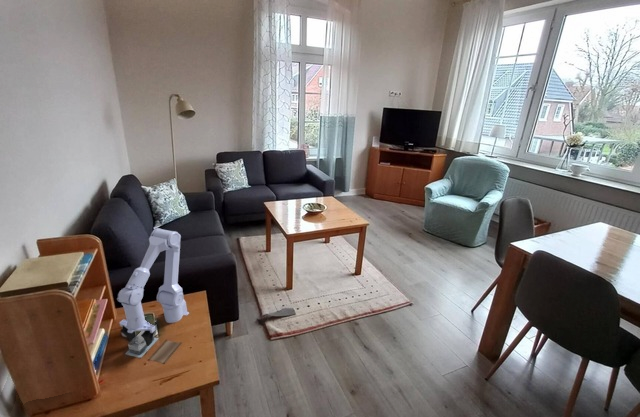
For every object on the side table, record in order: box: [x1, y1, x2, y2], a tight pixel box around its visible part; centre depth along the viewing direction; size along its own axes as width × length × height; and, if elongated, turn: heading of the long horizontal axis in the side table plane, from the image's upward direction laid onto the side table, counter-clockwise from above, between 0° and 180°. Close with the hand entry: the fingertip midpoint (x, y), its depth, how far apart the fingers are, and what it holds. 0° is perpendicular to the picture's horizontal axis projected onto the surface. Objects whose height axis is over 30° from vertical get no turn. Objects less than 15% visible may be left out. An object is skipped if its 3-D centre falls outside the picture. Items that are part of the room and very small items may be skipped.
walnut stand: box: [148, 339, 182, 364], centre depth 121 cm, size 7×10×2 cm
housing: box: [127, 331, 155, 355], centre depth 122 cm, size 8×4×5 cm, turn 168°
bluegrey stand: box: [124, 337, 159, 359], centre depth 123 cm, size 7×10×2 cm
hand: (141, 342), depth 122 cm, fingers open, 7 cm apart
